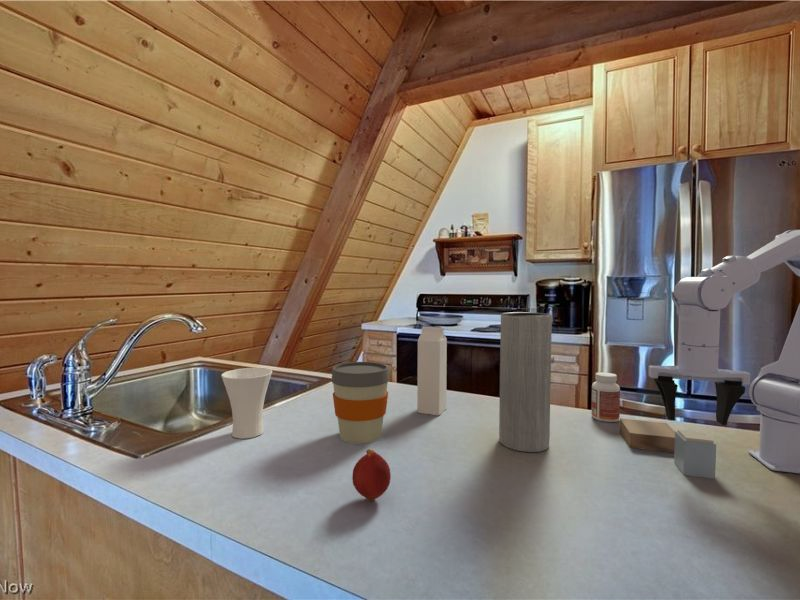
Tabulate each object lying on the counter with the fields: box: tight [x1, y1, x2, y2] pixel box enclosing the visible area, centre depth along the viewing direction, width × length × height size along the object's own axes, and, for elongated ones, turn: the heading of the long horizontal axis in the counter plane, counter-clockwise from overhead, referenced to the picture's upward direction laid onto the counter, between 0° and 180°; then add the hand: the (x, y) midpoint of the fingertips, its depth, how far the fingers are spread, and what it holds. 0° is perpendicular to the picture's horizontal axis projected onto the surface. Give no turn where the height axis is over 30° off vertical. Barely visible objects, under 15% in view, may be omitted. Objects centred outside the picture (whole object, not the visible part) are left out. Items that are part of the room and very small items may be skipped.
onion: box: [351, 448, 392, 502], centre depth 60 cm, size 6×6×8 cm
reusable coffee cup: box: [331, 361, 390, 444], centre depth 85 cm, size 13×12×15 cm
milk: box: [416, 326, 448, 417], centre depth 102 cm, size 6×6×22 cm
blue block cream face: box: [673, 429, 717, 480], centre depth 70 cm, size 5×5×6 cm
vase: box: [498, 311, 553, 453], centre depth 81 cm, size 10×10×27 cm
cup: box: [220, 367, 273, 439], centre depth 86 cm, size 10×10×14 cm
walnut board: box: [619, 417, 676, 453], centre depth 82 cm, size 9×9×3 cm
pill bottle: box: [591, 371, 621, 423], centre depth 96 cm, size 6×6×11 cm
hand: (695, 420), depth 69 cm, fingers open, 7 cm apart
